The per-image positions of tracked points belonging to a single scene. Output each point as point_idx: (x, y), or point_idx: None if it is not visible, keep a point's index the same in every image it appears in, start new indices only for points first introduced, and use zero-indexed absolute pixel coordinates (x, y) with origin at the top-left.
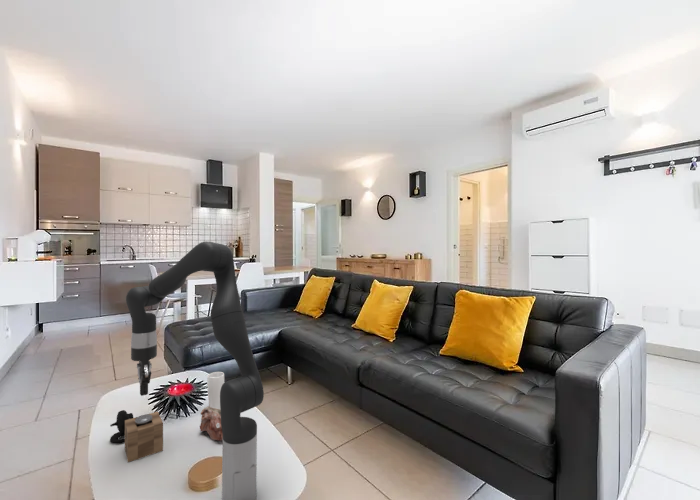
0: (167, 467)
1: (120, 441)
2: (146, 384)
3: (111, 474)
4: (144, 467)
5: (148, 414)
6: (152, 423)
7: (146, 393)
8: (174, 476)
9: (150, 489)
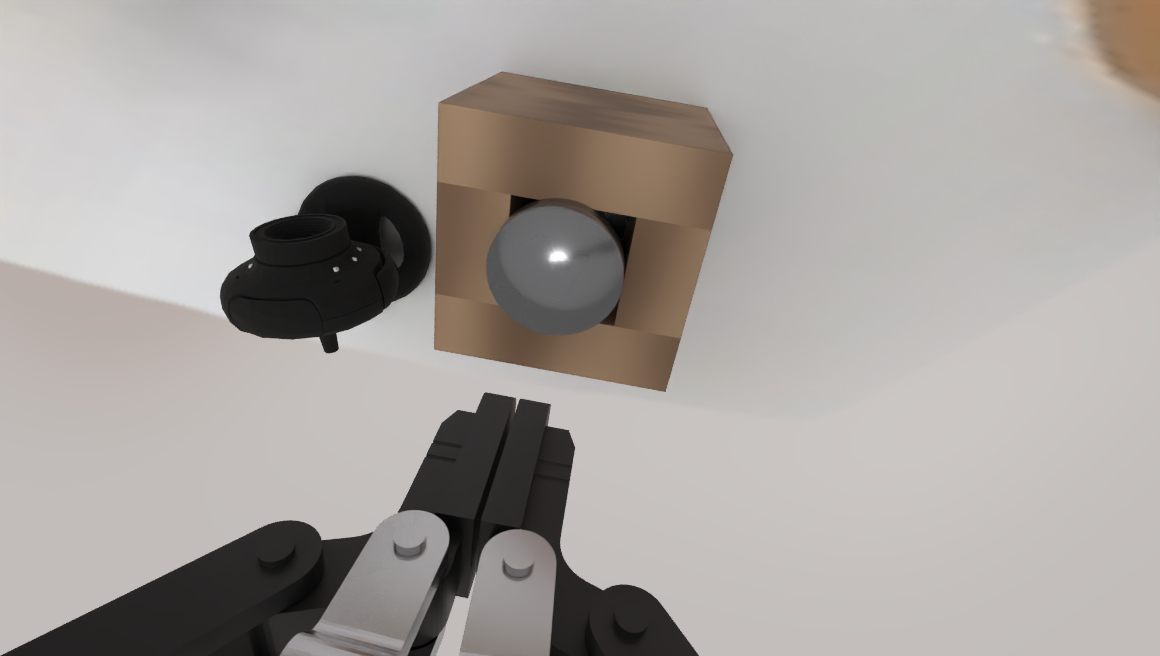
0: (918, 155)
1: (424, 271)
2: (562, 566)
3: (700, 365)
4: (786, 247)
5: (511, 225)
6: (658, 225)
7: (568, 435)
8: (1049, 159)
9: (1008, 288)
